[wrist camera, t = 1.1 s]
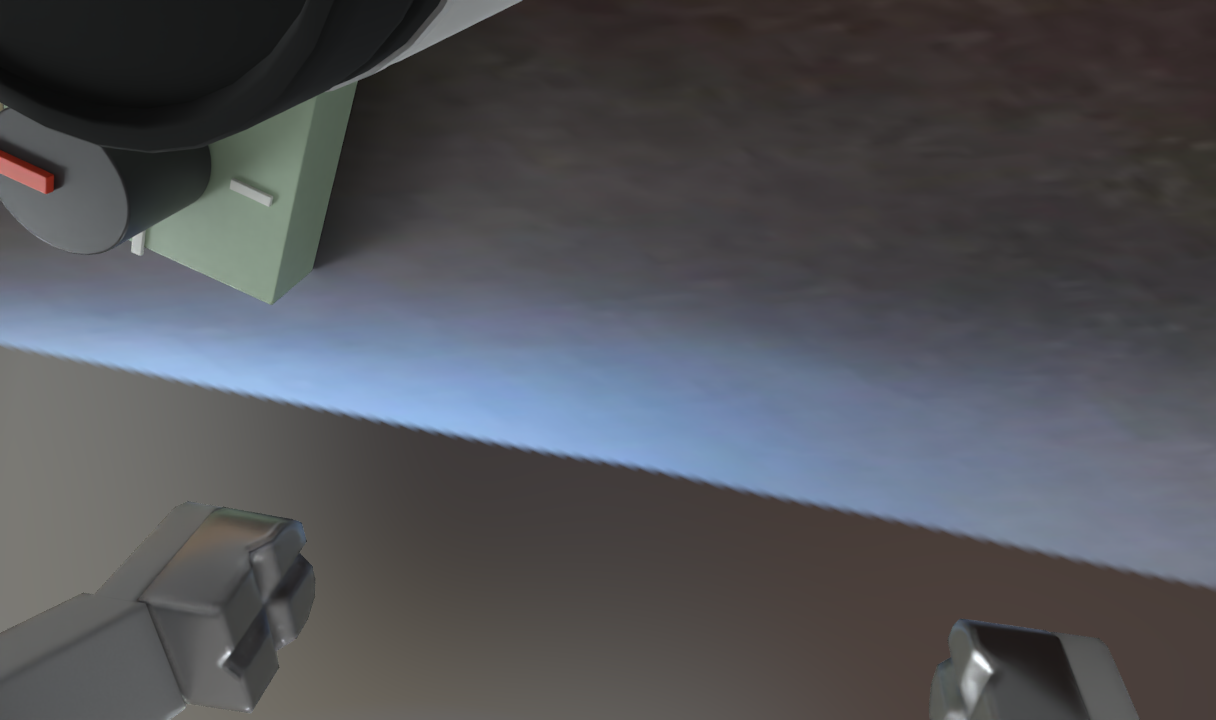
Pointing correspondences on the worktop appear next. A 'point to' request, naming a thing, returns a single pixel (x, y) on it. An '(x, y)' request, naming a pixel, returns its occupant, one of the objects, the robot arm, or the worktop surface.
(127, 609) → the robot arm
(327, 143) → the dial panel
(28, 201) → the timer dial
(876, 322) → the worktop surface
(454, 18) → the travel mug
